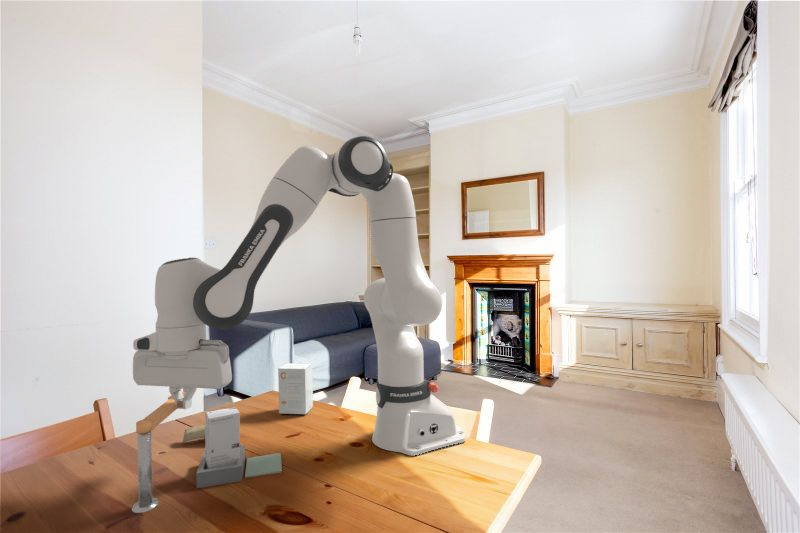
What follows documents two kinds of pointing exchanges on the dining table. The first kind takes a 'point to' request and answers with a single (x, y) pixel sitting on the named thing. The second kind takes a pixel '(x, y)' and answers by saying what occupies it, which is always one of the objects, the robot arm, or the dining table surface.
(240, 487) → the dining table surface
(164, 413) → the wooden board
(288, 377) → the small box
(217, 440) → the skincare box
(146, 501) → the post
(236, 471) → the grey slotted base
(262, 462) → the mat
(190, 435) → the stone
